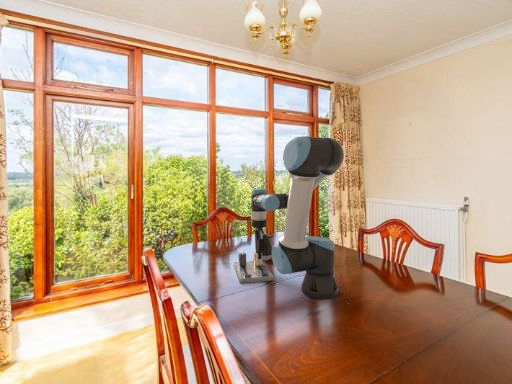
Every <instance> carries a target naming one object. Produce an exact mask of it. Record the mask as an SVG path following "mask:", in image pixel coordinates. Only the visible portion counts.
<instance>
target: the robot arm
mask: <svg viewBox="0 0 512 384" xmlns="http://www.w3.org/2000/svg"><path fill="white" fill-rule="evenodd" d="M283 149H284V150H283V153H282V154H283V155H282V161H283V163H282V164H283V166H284V168H286V170H287V174H288V175H289V176H290V183H289V191H288V192H286V193H283V192H282V193H267V189H266V188H253V189H251V194H250V195H251V196H250V199H251V202H250V203H251V216H250V217H251V227H252V228H254V231H253V232H254V243H255V253H256V264H257V265H262V252H263V245H264V235H263V234H265V231H264V230H263V229H264V228H266V227H267V215H268V212H274V211H276V210H286V214H285V222H284V230H283V235H281V236H280V237H279V238H278V239H279V240H278V244H275V245H274V246H273V245H272V257H271V260H272V262H273V265H274V267H275V269H276V270H277V272H278V273H279V274H281V275H288V274H289V275H291V274H295V273H302V272H305V274H304V277H303V279H302V283H301V292H302V294H304V296H307V297H310V298H312V299H318V300H328V299H332V298H335V297H337V296H338V293H339V286H338V284H337V280H336V277H335V243H334V241H333V240H332V239H330V238H327V237H321V236H315V235H314V236H313V235H310V236H307V231H308V230H307V229H308V223H309V217H310V212H311V206H312V197H313V194H314V193H313V192H314V189H316V188H317V187H318V186H319V185H320V184H321V183H322V182H323V181H324V180H325V179H326V178H327V177H328V176H332V175H334V174H335V173H336V172H337V171H338V170H339V169H340V168H341V166H342V164H343V161H344V158H345V151H344V148H343V147H342V145H341V144H340V142H338V140H336V139H334V138H331V137H326V136H325V137H322V136H321V137H320V136H304V135H303V136H294V137H291V138H290V139H289V140H288V141H287V142H286V144H285V146H284V148H283Z"/></svg>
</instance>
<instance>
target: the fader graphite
mask: <svg viewBox="0 0 512 384" xmlns="http://www.w3.org/2000/svg"><path fill="white" fill-rule="evenodd" d="M238 262H239V266H244V265H246V262H247V253H246V252H242V251H241V252H238Z"/></svg>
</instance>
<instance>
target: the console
mask: <svg viewBox="0 0 512 384" xmlns="http://www.w3.org/2000/svg"><path fill="white" fill-rule="evenodd" d="M233 268H234V270H235V273H236V277H237V279H238V282H239V284H246V283H259V282H270V281H274V280H275V278H274V275H273V273H272V272H271V270H270V269H269V267H268V266H267V264H266V263H265V261H263V260H262V265H260V266H255V265H254V259H253V260H251V261H246V265H244V266H239V261H237V262H233Z"/></svg>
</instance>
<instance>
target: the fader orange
mask: <svg viewBox="0 0 512 384" xmlns="http://www.w3.org/2000/svg"><path fill="white" fill-rule="evenodd" d="M253 260H254V265H255V266H260V265H257V264H256V252H253Z"/></svg>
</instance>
